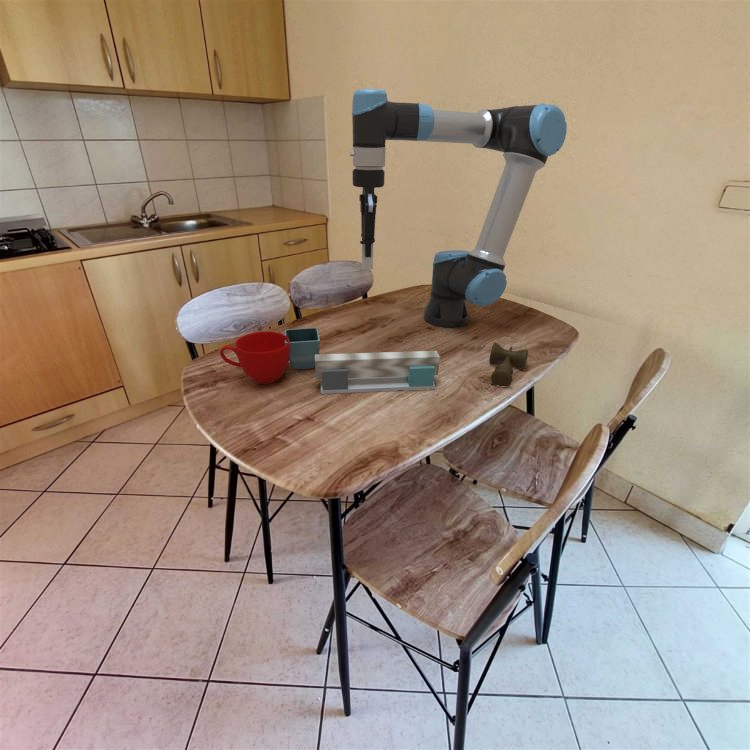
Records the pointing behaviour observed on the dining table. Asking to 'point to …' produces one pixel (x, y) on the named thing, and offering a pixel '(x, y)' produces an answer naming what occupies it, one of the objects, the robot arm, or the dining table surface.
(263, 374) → the ceramic cup
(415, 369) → the long grey teal holder
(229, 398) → the dining table surface
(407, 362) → the grey white bar
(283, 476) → the dining table surface
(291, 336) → the flower pot
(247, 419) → the dining table surface
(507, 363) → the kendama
